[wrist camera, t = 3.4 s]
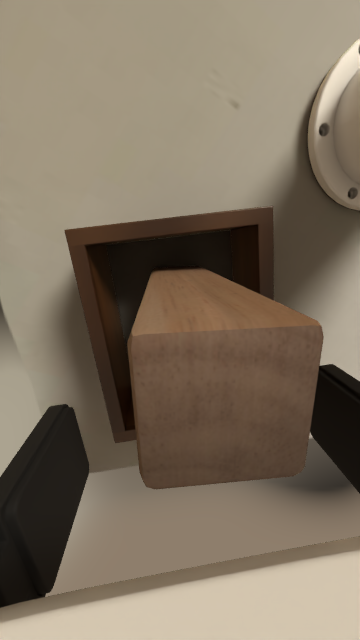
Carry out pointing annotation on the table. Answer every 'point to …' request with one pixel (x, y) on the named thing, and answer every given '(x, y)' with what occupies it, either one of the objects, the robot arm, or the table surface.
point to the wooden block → (219, 381)
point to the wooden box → (100, 298)
